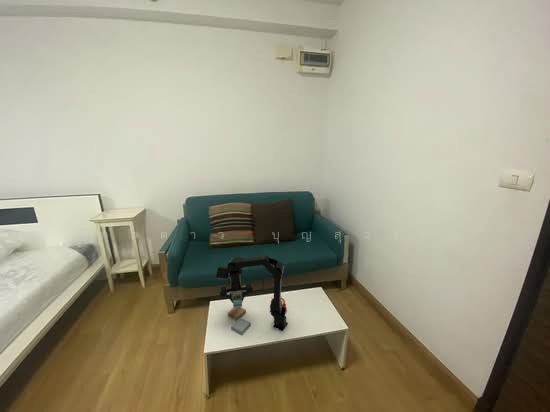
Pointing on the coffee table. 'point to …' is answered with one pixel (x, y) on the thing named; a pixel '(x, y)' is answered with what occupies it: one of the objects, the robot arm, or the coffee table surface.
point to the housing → (237, 300)
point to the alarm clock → (282, 302)
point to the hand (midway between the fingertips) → (237, 302)
